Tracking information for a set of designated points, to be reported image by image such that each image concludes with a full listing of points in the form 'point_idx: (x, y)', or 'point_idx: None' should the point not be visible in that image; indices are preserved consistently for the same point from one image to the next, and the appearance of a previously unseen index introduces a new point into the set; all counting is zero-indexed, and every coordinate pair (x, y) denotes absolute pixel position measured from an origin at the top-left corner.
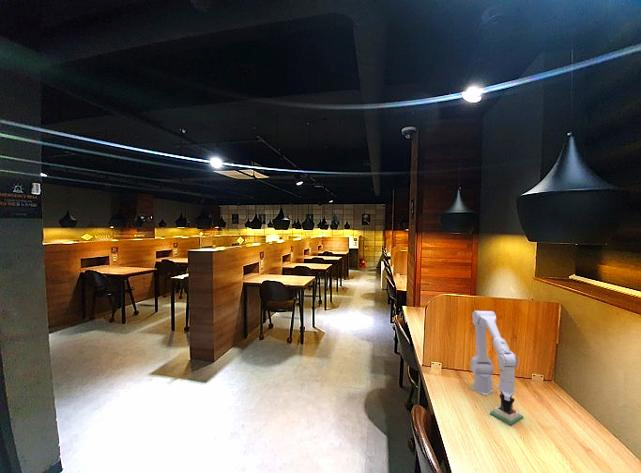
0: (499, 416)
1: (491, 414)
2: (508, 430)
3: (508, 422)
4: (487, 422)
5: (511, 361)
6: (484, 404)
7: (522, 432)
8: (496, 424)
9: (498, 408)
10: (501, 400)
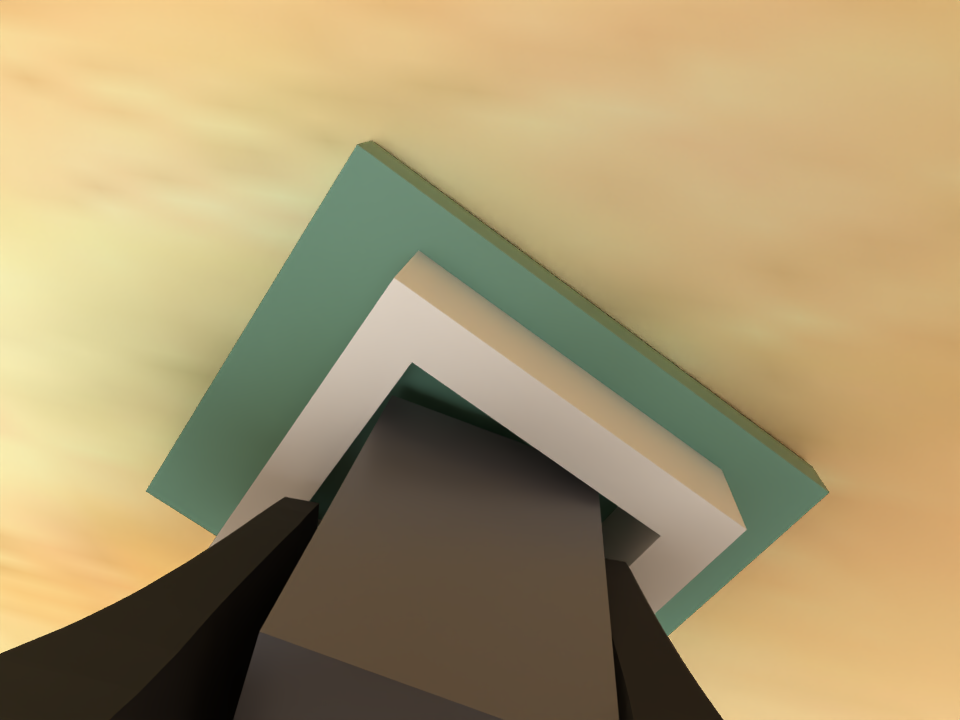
0: (289, 336)
1: (344, 174)
2: (26, 401)
3: (166, 461)
4: (25, 41)
5: None
6: (847, 63)
7: (118, 589)
8: (77, 225)
9: (451, 383)
10: (268, 624)
